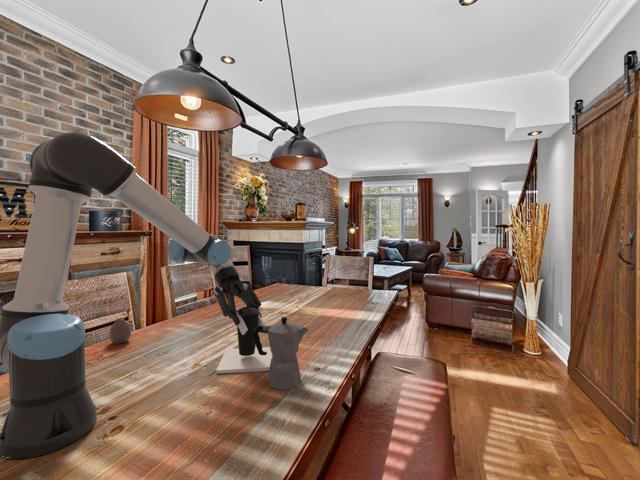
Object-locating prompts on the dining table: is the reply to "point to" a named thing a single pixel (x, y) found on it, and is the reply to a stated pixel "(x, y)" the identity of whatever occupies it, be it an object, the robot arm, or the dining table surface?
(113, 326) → the grey rounded lump
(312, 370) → the dining table surface
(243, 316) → the drinking cup
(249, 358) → the tile
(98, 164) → the robot arm
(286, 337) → the coffeepot
